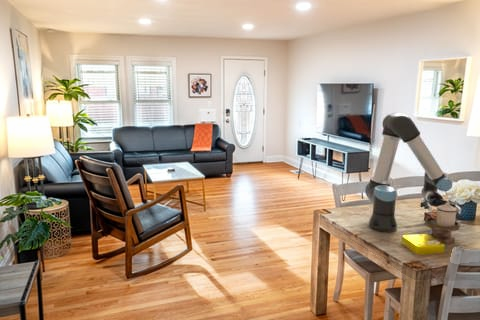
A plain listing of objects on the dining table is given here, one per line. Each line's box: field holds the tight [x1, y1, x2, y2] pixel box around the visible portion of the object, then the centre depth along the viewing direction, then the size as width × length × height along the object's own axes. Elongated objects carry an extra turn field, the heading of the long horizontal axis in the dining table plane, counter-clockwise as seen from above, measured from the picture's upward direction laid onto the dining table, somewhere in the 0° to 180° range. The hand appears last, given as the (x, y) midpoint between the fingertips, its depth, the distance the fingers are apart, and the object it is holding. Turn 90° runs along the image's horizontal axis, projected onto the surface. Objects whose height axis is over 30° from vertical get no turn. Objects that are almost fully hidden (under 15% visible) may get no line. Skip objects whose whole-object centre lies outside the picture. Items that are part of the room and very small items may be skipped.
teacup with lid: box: [429, 203, 457, 227], centre depth 197 cm, size 12×9×12 cm
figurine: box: [447, 193, 455, 202], centre depth 238 cm, size 7×9×15 cm
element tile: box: [401, 233, 445, 256], centre depth 187 cm, size 15×15×5 cm
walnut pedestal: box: [424, 215, 461, 244], centre depth 198 cm, size 16×16×9 cm
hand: (445, 210), depth 193 cm, fingers open, 13 cm apart
